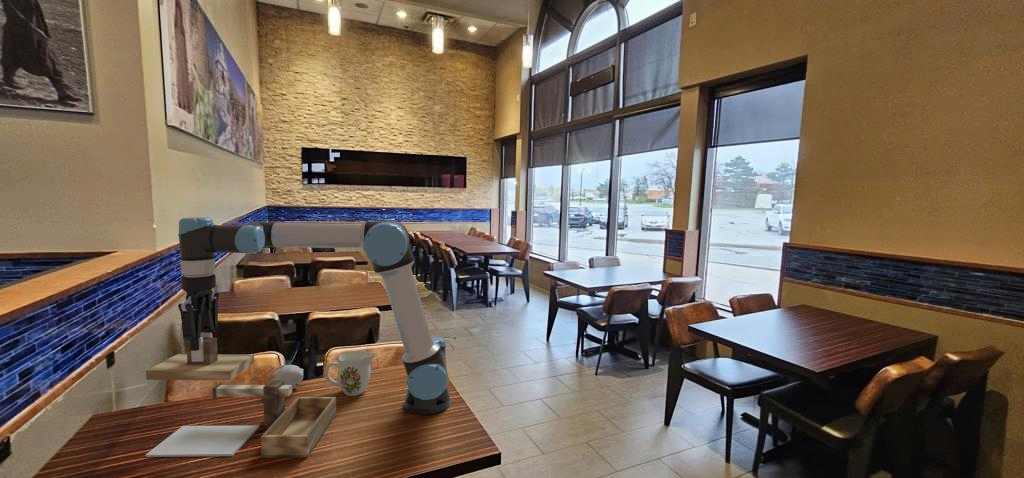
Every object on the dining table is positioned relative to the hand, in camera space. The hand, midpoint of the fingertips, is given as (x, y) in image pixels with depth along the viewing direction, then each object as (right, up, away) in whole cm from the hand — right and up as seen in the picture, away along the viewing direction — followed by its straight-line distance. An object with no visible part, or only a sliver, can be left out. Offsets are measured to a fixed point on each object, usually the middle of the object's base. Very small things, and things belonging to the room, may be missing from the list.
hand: (202, 357), depth 117 cm
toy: (+4, -21, +36) cm, 42 cm away
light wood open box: (+20, -24, +7) cm, 33 cm away
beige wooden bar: (+7, -15, +12) cm, 20 cm away
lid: (0, -4, 0) cm, 4 cm away
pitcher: (+28, -22, +35) cm, 50 cm away
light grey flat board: (-1, -24, +3) cm, 24 cm away
